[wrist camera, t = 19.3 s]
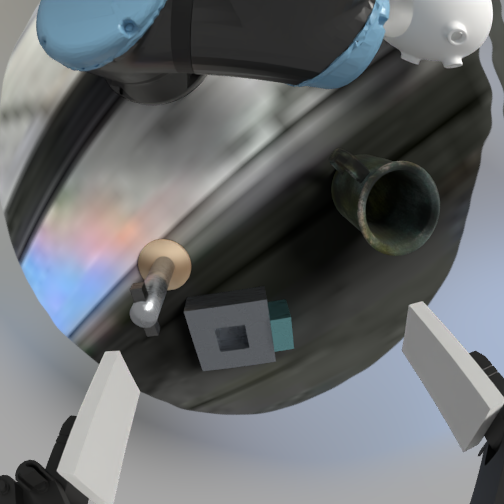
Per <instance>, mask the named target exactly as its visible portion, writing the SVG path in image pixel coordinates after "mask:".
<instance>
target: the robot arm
mask: <svg viewBox="0 0 504 504" xmlns="http://www.w3.org/2000/svg"><path fill="white" fill-rule="evenodd" d="M389 13H390V3H389V0H41V2H40V5H39V9H38V13H37V21H36V28H37V36H38V39H39V42H40V45H41V46H42V48H43V49H44V50H45V52H46V53H47V54H48V55H49V56H50V57H51V58H52V59H54V60H56V61H58V62H59V63H61V64H63V65H64V66H66V67H67V68H70V69H72V70H79V71H84V72H88V73H91V74H94V75H98V76H101V77H104V78H105V79H106V81H107V83H108V84H109V86H110V87H111V88H112V89H113V90H114V91H115V92H116V93H117V94H119V95H120V96H122V97H123V98H125V99H127V100H130V101H132V102H136V103H140V104H146V105H159V104H165V103H169V102H172V101H175V100H178V99H180V98H182V97H184V96H185V95H187V94H189V93H190V92H191V91H193V90H194V89H195V88H196V87H197V86H198V85H199V84H200V83H201V82H202V81H203V80H204V78H205V77H206V76H207V75H217V76H230V77H240V78H249V79H258V80H266V81H273V82H280V83H285V84H287V85H289V86H293V87H296V86H298V87H302V86H310V87H317V88H324V89H335V88H340V87H343V86H345V85H347V84H349V83H351V82H352V81H354V80H355V79H356V78H357V77H358V76H360V75H361V74H362V72H363V71H364V70H365V69H366V68H367V67H368V65H369V64H370V63H371V61H372V60H373V58H374V56H375V55H376V53H377V51H378V49H379V47H380V45H381V43H382V40H383V38H384V35H385V32H386V31H385V29H384V28H383V25H384V24H385V22H386V21H387V20H388V19H389ZM402 352H403V353H404V354H405V356H406V358H407V359H408V361H409V362H410V364H411V365H412V367H413V369H414V370H415V372H416V373H417V375H418V376H419V378H420V380H421V381H422V383H423V384H424V386H425V388H426V389H427V391H428V392H429V394H430V396H431V397H432V399H433V400H434V402H435V404H436V406H437V407H438V409H439V411H440V412H441V414H442V415H443V417H444V419H445V420H446V422H447V424H448V426H449V427H450V429H451V431H452V432H453V434H454V436H455V438H456V440H457V441H458V443H459V445H460V447H461V449H462V450H463V452H465V451H467V450H468V449H470V448H472V447H474V446H476V445H478V444H479V442H480V441H481V440H482V438H483V437H484V436H485V438H486V440H487V442H486V443H485V445H484V446H483V447H482V449H481V450H480V452H479V454H478V456H480V455H481V454H482V453H483V457H482V461H481V466H480V470H479V474H478V478H477V482H476V485H475V488H474V492H473V495H472V499H471V502H470V504H504V378H503V377H502V376H501V375H500V373H498V372H497V370H496V368H495V367H494V366H492V364H491V362H490V361H489V360H488V359H487V358H486V357H485V356H484V355H482V354H480V353H479V352H477V351H474V352H471V353H468V352H467V351H466V349H465V348H464V347H463V346H462V345H461V344H460V342H459V341H458V340H457V339H456V338H455V337H454V336H453V335H452V333H451V332H450V331H449V330H448V329H447V328H446V327H445V325H444V324H443V323H442V322H441V321H440V320H439V319H438V318H437V316H436V315H435V314H434V313H433V312H432V311H431V310H430V309H429V308H428V307H427V306H426V304H425V303H424V302H423V301H422V302H418V303H415V304H411V305H409V308H408V315H407V322H406V329H405V335H404V341H403V347H402ZM139 394H140V391H139V389H138V387H137V385H136V383H135V381H134V379H133V377H132V375H131V373H130V371H129V369H128V367H127V365H126V363H125V361H124V359H123V357H122V355H121V353H120V351H108V352H105V353H104V355H103V358H102V360H101V362H100V364H99V366H98V368H97V371H96V373H95V375H94V378H93V380H92V382H91V384H90V387H89V389H88V391H87V393H86V396H85V398H84V401H83V403H82V405H81V408H80V410H79V413H78V415H77V416H70V417H69V418H68V419H67V420H66V421H65V423H64V424H63V426H62V428H61V430H60V433H59V436H58V438H57V440H56V444H55V445H54V448H53V450H52V453H51V455H50V458H49V461H48V463H47V466H46V469H44V468H43V467H42V466H41V465H40V464H39V463H38V462H36V461H34V460H28V461H24V462H23V463H22V464H20V465H19V467H18V468H17V470H16V474H15V476H16V480H17V481H18V482H16V481H14V480H13V479H12V478H11V477H9V476H8V475H2V476H0V504H88V500H89V499H90V500H91V501H92V502H93V503H95V504H114V500H115V495H116V490H117V485H118V480H119V476H120V471H121V467H122V462H123V457H124V454H125V449H126V445H127V441H128V437H129V433H130V429H131V425H132V421H133V417H134V413H135V410H136V406H137V402H138V398H139ZM483 451H484V452H483Z"/></svg>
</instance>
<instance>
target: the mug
mask: <svg viewBox="0 0 504 504" xmlns="http://www.w3.org/2000/svg"><path fill="white" fill-rule="evenodd" d="M329 161H330V163H331V165H332V166H333V167H334V168H335V169H336V172H335V174H334V177H333V180H332V186H331V193H332V199H333V202H334V204H335V206H336V208H337V210H338V211H339V213H340V214H341V215H342V216H343V217H345V218H346V219H347V220H348V221H349V222H350V223H352V224H353V225H354V226H355V227H356V228H357V229H358V230H359V231H361V232H362V234H363V236H364V238H365V239H366V241H367V242H368V243H369V244H370V245H371V246H372V247H373V248H374V249H376V250H377V251H379V252H381V253H383V254H387V255H392V256H400V255H405V254H408V253H411V252H413V251H415V250H416V249H418V248H419V247H421V246H422V245H423V244H424V243H425V242H426V241H427V240H428V239H429V237H430V236H431V234H432V233H433V231H434V229H435V227H436V224H437V221H438V217H439V211H440V199H439V193H438V190H437V187H436V185H435V183H434V181H433V179H432V178H431V176H430V175H429V174H428V173H427V172H426V171H425V170H424V169H423V168H421V167H420V166H418V165H416V164H414V163H411V162H408V161H395V162H394V161H390V160H387V159H383V158H379V157H375V156H371V155H365V154H362V155H356V156H354V155H353V154H351V153H350V152H348V151H347V150H345V149H342V148H339V149H336V150H335V151H334V152H333V153H332V154H331V156H330V157H329Z"/></svg>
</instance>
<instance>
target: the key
mask: <svg viewBox="0 0 504 504" xmlns="http://www.w3.org/2000/svg"><path fill="white" fill-rule="evenodd" d="M174 269H175V265H174V262H173V261H172V260H171V259H170V258H168V257H165V256H161V257H158V258H157V259H156V260H155V262H154V263H153V265H152V267H151V269H150V271H149V273H148V275H147V277H146V279H145V281H144V282H140V283H134V284H133V285H132V286H131V288H130V292H131V295H132V297H133V300H134V303H133V305H132V307H131V309H130V318H131V319H132V321H133V322H134V323H135V324H136V325H138V326H140V327H144V329H145V332H146V335H147V337H148V336H158V335H159V331H160V326H159V323H158V321H157V318H158V315H159V312H160V309H161V307H162V304H163V301H164V298H165V295H166V292H167V289H168V286H169V284H170V281H171V278H172V275H173V272H174Z"/></svg>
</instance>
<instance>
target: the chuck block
mask: <svg viewBox="0 0 504 504" xmlns="http://www.w3.org/2000/svg"><path fill="white" fill-rule="evenodd" d="M184 314H185V317H186V321H187V324H188V327H189V330H190V334H191V337H192V340H193V343H194V346H195V349H196V352H197V355H198V358H199V361H200V364H201V367H202V370H203V371H208V370H217V369H226V368H234V367H241V366H249V365H256V364H262V363H269V362H275V361H276V360H275V352H276V351H282V350H288V349H294V344H293V334H292V323H291V316H290V312H289V309H288V306H287V302H286V299H285V300H279V301H273V302H267V297H266V292H265V287H264V286H261V287H254V288H248V289H242V290H235V291H228V292H222V293H215V294H208V295H201V296H194V297H187V300H186V304H185V308H184ZM274 351H275V352H274Z"/></svg>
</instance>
